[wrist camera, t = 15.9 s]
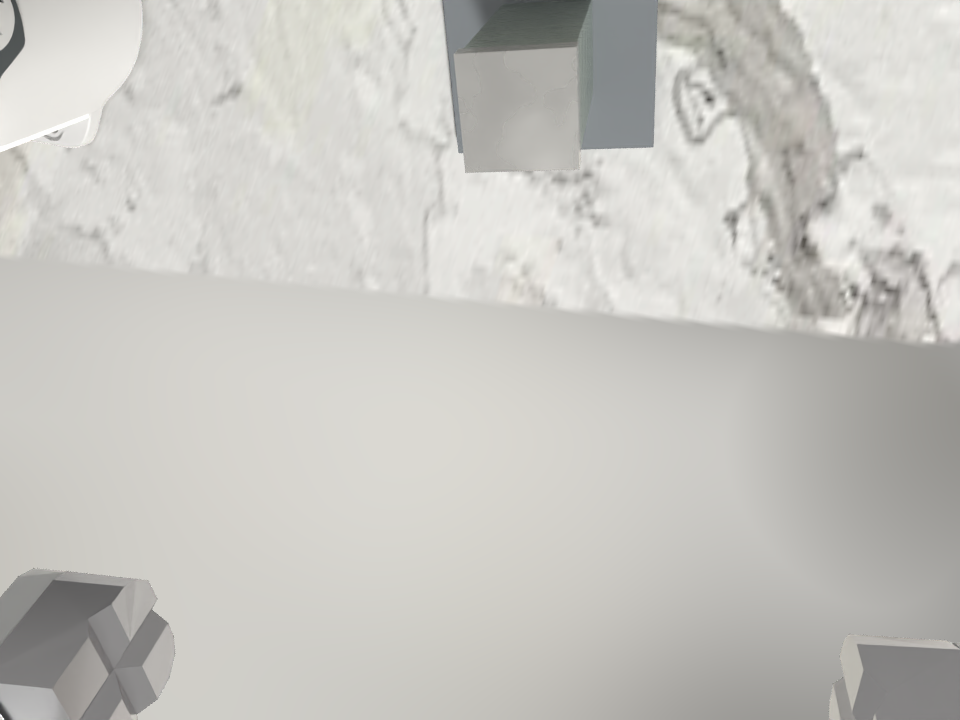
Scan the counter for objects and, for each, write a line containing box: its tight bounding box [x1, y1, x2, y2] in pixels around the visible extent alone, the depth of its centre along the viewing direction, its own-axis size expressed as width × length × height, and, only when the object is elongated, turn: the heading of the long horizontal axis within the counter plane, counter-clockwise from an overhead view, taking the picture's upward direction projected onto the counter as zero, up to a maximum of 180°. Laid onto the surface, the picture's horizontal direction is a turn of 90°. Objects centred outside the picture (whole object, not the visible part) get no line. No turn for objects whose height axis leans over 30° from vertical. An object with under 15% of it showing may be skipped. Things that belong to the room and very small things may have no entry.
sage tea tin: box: [454, 0, 593, 173], centre depth 37 cm, size 5×5×12 cm
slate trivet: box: [443, 0, 658, 153], centre depth 42 cm, size 11×11×1 cm
